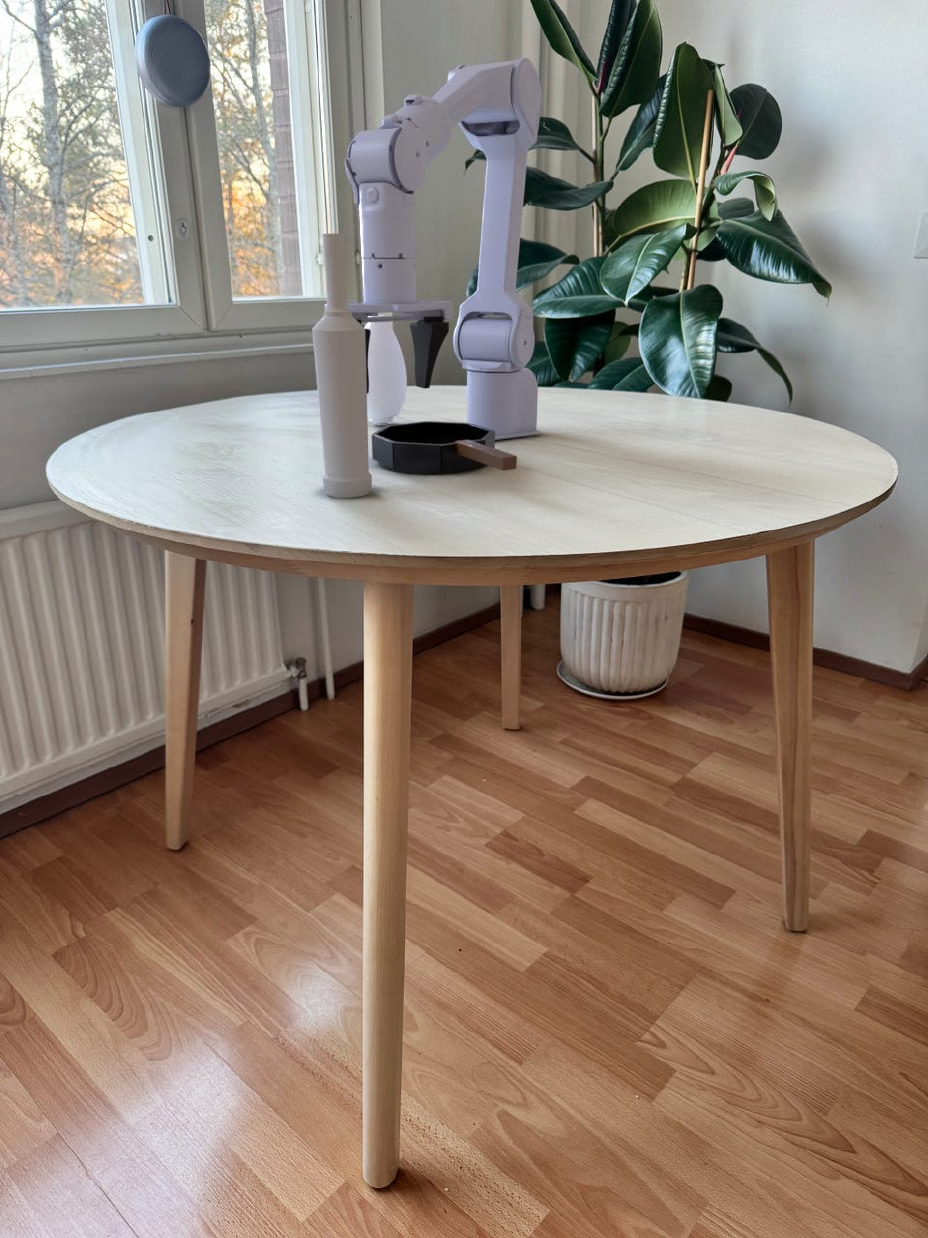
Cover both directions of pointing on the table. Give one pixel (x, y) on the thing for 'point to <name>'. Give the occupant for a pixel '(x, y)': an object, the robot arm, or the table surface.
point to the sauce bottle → (385, 374)
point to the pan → (438, 448)
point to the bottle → (341, 383)
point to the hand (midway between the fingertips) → (393, 389)
